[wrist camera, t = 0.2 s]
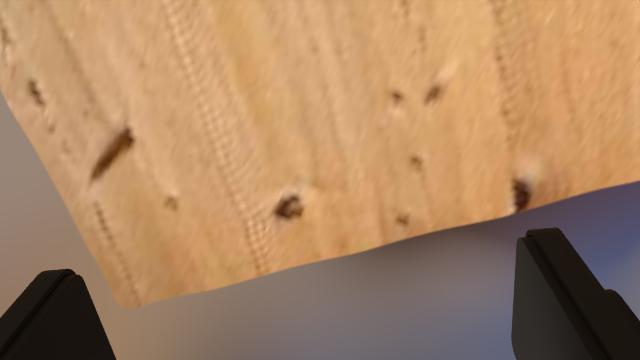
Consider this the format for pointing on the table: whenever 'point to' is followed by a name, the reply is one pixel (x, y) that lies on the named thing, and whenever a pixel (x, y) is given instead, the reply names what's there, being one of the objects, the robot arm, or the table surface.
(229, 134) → the table surface
